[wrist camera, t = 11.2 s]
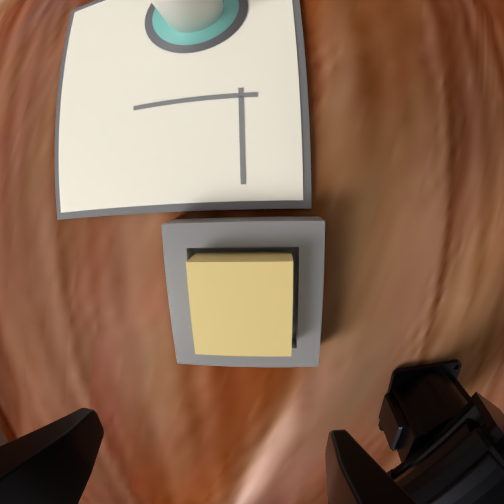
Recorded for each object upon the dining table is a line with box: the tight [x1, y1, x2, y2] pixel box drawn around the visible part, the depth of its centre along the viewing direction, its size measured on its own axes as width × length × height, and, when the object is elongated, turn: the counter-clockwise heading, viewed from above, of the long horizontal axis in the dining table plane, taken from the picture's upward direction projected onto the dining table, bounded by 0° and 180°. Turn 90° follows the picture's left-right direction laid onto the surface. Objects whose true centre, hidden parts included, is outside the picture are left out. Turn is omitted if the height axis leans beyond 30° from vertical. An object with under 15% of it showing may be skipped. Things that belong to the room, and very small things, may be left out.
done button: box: [186, 252, 293, 357], centre depth 17 cm, size 5×5×2 cm
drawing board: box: [55, 0, 312, 220], centre depth 17 cm, size 18×18×1 cm
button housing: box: [161, 216, 325, 367], centre depth 19 cm, size 9×9×2 cm
